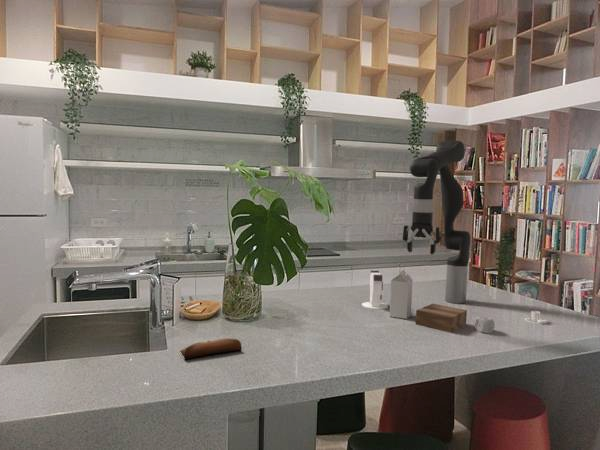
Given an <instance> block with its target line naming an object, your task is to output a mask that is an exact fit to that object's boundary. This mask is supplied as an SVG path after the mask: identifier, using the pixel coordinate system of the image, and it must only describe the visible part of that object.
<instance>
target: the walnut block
mask: <svg viewBox="0 0 600 450" xmlns="http://www.w3.org/2000/svg"><path fill="white" fill-rule="evenodd" d="M467 313H468V310H467V309H462V308H456V307H451V306H447V305H441V304H436V303H431V304H429V305H426V306H422V307H421V308H418V309H416V311H415V325H417V326H421V327H424V328H425V327H426V328H427V329H428V328H429V329H433V330H437V331H441V332H445V333H450V334H451V333H454V332H455V331H457V330H460V329H461V328H463V327H465V326H467V316H468V315H467Z"/></svg>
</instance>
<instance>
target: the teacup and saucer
mask: <svg viewBox="0 0 600 450" xmlns="http://www.w3.org/2000/svg"><path fill="white" fill-rule="evenodd" d="M530 315H531V317H526V318H524V320H525V321H526V322H528V323H533V324H538V325H540V324H542V325H543V324H545V325H546V324H548V323H549V321H548V320H547V319H542V318H541V311H537V310H532V311H531V312H530ZM530 319H531V320H532V321H530Z"/></svg>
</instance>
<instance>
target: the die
mask: <svg viewBox="0 0 600 450" xmlns="http://www.w3.org/2000/svg"><path fill="white" fill-rule="evenodd" d="M474 327H475V329H476V331H477V332H479V333H481V334H491V333H493V331H494V330H495V327H496V326H495V321H494V320H493V318H492V317H490V316H486V315H485V316H484V315H481V316H478V317H476V318H475V320H474Z"/></svg>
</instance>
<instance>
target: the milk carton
mask: <svg viewBox="0 0 600 450" xmlns="http://www.w3.org/2000/svg"><path fill="white" fill-rule="evenodd" d="M389 298H390V299H389V300H390V301H389V317H393V318H397V319H404V320H408V319H409V317H411V316H412V305H413V304H412V302H413V301H412V300H413V278H411V275H410V274H409V273H408V272H406V268H405V269H404V268H403V269H401V270H400V271H399V274H397V276H395V277H394V278H392V279H391V280H390V297H389Z"/></svg>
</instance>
